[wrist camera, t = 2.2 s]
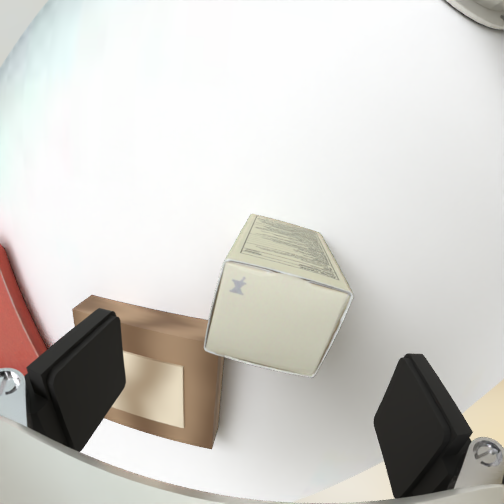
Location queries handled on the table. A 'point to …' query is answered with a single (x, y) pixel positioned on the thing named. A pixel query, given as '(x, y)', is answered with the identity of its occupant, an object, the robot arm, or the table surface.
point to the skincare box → (278, 299)
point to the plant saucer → (16, 323)
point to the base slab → (164, 373)
